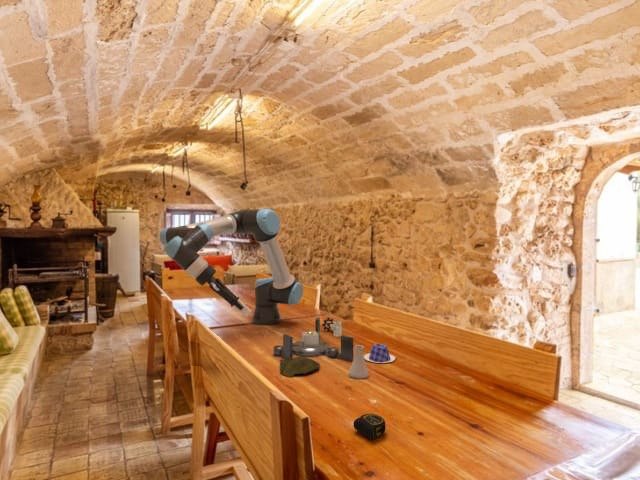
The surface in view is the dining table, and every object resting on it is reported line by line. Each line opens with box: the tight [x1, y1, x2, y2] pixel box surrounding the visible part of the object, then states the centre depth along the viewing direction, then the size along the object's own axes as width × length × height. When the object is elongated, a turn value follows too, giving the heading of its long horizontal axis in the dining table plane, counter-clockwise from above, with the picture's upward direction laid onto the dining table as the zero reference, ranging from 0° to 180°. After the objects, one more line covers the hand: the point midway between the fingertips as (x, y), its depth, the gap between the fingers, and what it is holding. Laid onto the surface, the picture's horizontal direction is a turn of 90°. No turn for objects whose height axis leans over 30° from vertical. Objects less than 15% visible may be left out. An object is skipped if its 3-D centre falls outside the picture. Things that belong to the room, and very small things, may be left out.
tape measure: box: [353, 413, 386, 441], centre depth 99 cm, size 7×7×4 cm
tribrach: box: [293, 316, 354, 363], centre depth 167 cm, size 36×25×9 cm
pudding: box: [363, 343, 396, 364], centre depth 155 cm, size 12×12×5 cm
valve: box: [321, 317, 343, 338], centre depth 190 cm, size 7×7×12 cm
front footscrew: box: [272, 333, 294, 360], centre depth 157 cm, size 11×4×9 cm, turn 37°
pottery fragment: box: [279, 356, 321, 378], centre depth 143 cm, size 14×14×4 cm
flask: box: [348, 344, 370, 379], centre depth 138 cm, size 7×7×10 cm
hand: (248, 314), depth 151 cm, fingers closed
